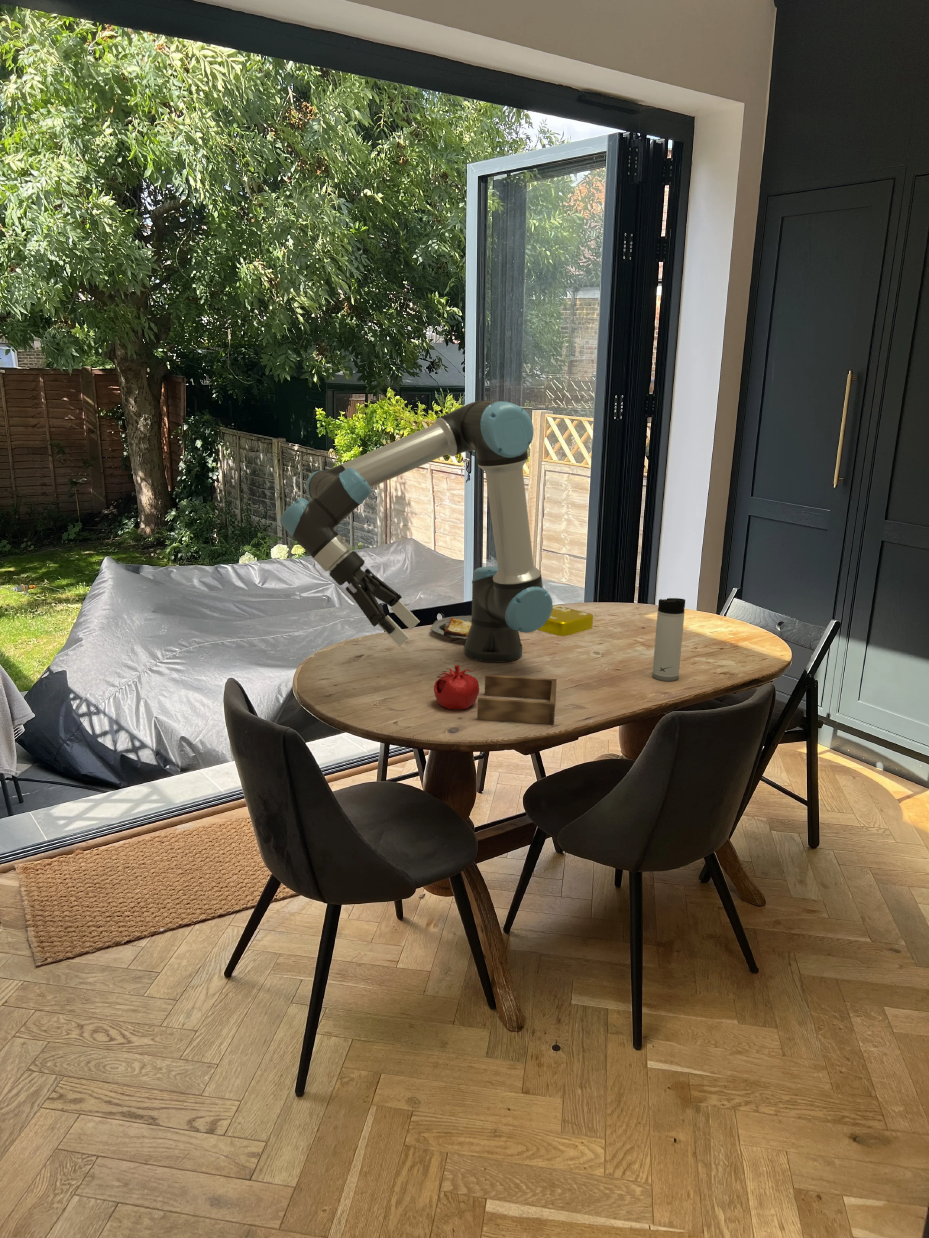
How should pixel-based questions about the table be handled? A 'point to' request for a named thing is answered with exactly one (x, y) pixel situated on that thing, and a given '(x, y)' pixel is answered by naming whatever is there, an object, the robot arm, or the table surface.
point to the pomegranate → (456, 689)
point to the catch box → (518, 708)
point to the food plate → (453, 626)
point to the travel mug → (668, 639)
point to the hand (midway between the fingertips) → (410, 633)
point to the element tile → (567, 621)
